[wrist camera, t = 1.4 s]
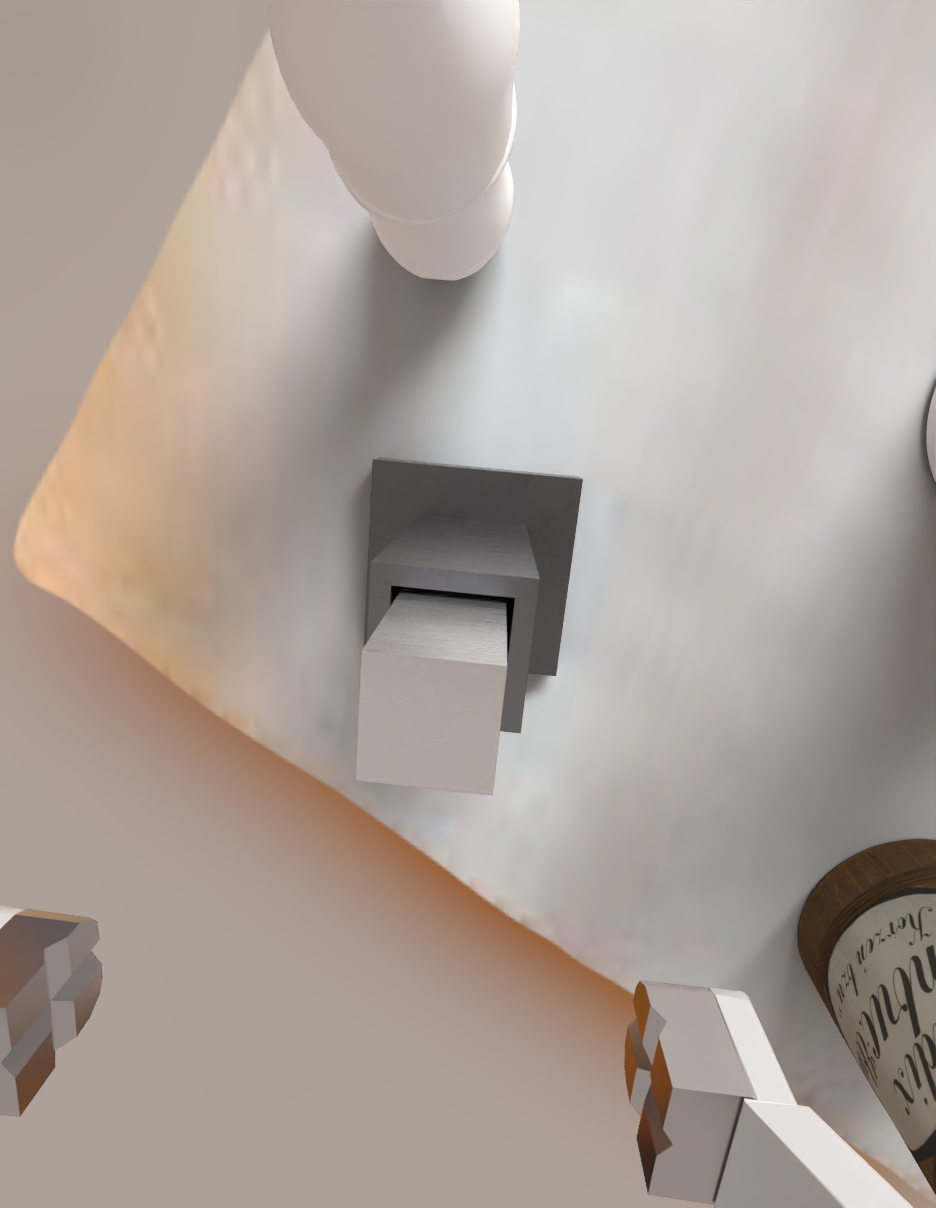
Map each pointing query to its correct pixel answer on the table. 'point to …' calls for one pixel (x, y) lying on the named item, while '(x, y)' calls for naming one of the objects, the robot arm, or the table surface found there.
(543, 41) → the table surface
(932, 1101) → the wooden container
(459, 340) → the table surface
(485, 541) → the stand
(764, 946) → the table surface
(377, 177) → the water bottle
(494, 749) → the column
